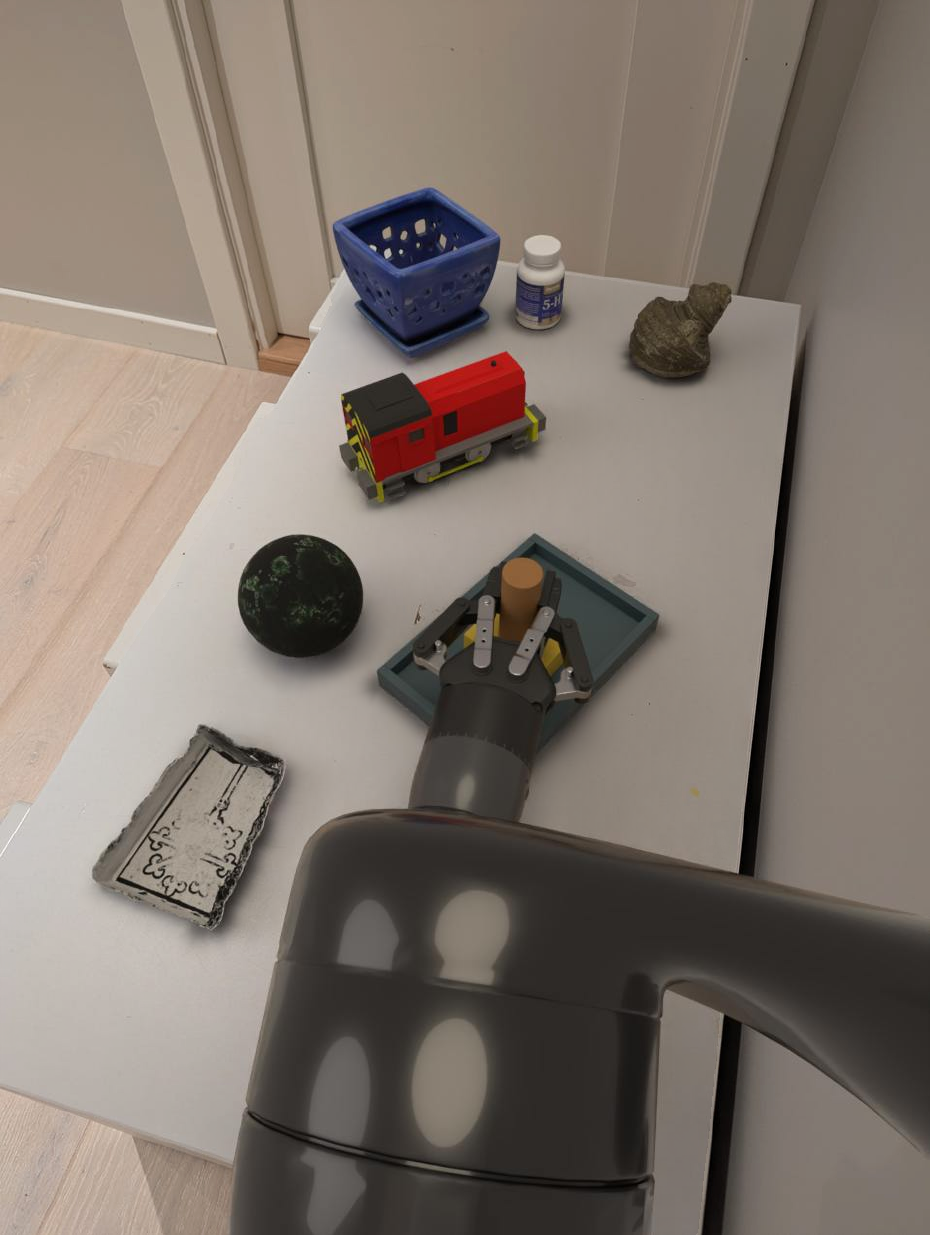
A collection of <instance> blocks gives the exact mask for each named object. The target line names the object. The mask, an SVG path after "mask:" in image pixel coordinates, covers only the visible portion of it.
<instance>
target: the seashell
mask: <svg viewBox="0 0 930 1235" xmlns="http://www.w3.org/2000/svg"><path fill="white" fill-rule="evenodd" d="M732 293H733V292H732V288H731V287H730V286H729V285H728V284H726V283H725V284H724V283H718V282H714V281H713V282H709V283H707V284H705V285H701V284H698V283H692V284H690V285H689V290H688V292H687V296H686V298H685V299H684V300H683V301H682V300H677V301H676V300H669V299H666V298H665V297H663V296H655V297H654V299H652V300H651V301H649V302H648V303H646V305H645V307H643V308H642V310H641V311H640V312H639V313H637V318H636V319H635V321H634V324H633V329H632V331H631V332H630V335H629V343H628V347H629V351H630V358H631V361H632V362H633V363H634V365H635V366H636V367H637V368H642V369H644V370H646V371H647V372H649V373H651V374H653V375H654V376H657V377H659V378H663V379H668V378H677V379H678V378H684V377H689V376H691V375H693V374H694V375H695V374H697V373H700V372H701V373H702V372H704V371H705V370H706V369H708V367H710V363H711V359H710V358H711V350H710V343H709V335H711V333H712V332H713V330H714V329H715V326H716V325H717V324H718V322H719V320H721V318H722V317H723V315H724V313H725V311H726V309H727V308H728V306H729V305H730V304H731V303H732Z"/></svg>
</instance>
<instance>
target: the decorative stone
mask: <svg viewBox="0 0 930 1235" xmlns="http://www.w3.org/2000/svg"><path fill="white" fill-rule="evenodd" d="M363 587H364V586H363V583H362V578H361V576H360V573H359V570H358V569H357V567H356V565H355V564H354V562H353V561H352V559H351V557H349V555H348V554H347V553H346V552H345V551H344V550H343V549H342V548H340V546H338V545H336V544H334V543H332V542H331V541H329V540H327V539H325V538H323V537H320V536H315V535H311V534H304V533H303V534H301V533H299V534H298V533H297V534H288V535H285V536H282V537H279V538H275V539H273V540H272V541H270V542H268V543H266V544H264V545H263V546H262V547H261V548H259V549H258V550H257V551H256V552H255V553H254V554H253V555H252V556H251V557H250V559H249V561H248V562H247V563H246V565H245V566H244V567H243V570H242V573H241V576H240V578H239V582H238V587H237V588H238V589H237V606H238V610H239V615H240V618H241V620H242V622H243V624H244V626H245V629H246V630H247V631H248V632H249V634H250V635H251V636H252V637H253V639H255V640H256V642H258V643H259V644H260V645H261V646H263V647H264V648H266V649H267V650H268V651H270V652H273V653H275V654H277V655H280V656H283V657H287V658H293V659H294V658H295V659H309V658H314V657H318V656H321V655H324V654H327V653H329V652H331V651H333V650H334V649H336V648H337V647H339V646H340V645H341V644H343V643H344V642H345V641H346V640H347V639H348V638H349V637H350V635H351V634H352V633H353V631H354V630H355V628H356V627H357V624H358V623H359V620H360V618H361V615H362V611H363V606H364V588H363Z"/></svg>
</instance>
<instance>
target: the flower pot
mask: <svg viewBox="0 0 930 1235" xmlns="http://www.w3.org/2000/svg"><path fill="white" fill-rule="evenodd" d="M423 220H424V227H425V230H424V231H422V232H419V233H417V230H416V224H417V223H418V222H419V221H423ZM388 228H389V230H390V236H388V237H386V238H384V233H383V232H384V231H385V230H386V229H388ZM332 232H333V233H332V234H333V237H334V242H335V245H336V249H337V252H338V256H339V258H340V261H341V264H342V266H343V269H344V271H345V273H346V276H347V278H348V279H349V282H350V283H351V285H352V287H353V288H354V290H355V292H356V293H357V295H358V297H359V298H360V299H359V300H356V301H355V302H354V307H355V309H356V310H357V311H358V312H359V314H361V316H362V317H364V319H365V320H367V321H368V323H370V324H371V325H372V326H373V327H374V328H375V329H376V330H377V331H378V332H380V333H381V335H383V336H384V337H385V338H386V339H387V340H388V341H389V342H390V343H392V345H394V347H395V348H397V349H398V350H399V351H400V352H401V353H402V354H404V355H405V356H406V357H408V358H410V359H412V358H415V357H418V356H421V355H423V354H424V353H428V352H430V351H432V350H435V349H437V348H439V347H442V346H444V345H446V344H449V343H451V342H453V341H455V340H458V339H460V338H462V337H464V336H466V335H468V334H470V333H472V332H475V331H477V330H479V329H480V328H482V327H483V326H484V325H486V323H487V322H488V321H489V320H490V317H491V315H490V313H489V312H488V311H487V310H486V309H485V308H483V307H482V305H481V304H482V302H483V300H484V299H485V297H486V295H487V293H488V291H489V289H490V286H491V284H492V282H493V278H494V276H495V272H496V270H497V266H498V262H499V257H500V256H499V255H500V249H501V236H500V234H499V233H497V231H495V230H494V229H493V228H492V227H491V226H489V225H487V224H486V223H485V222H484V221H483V220H481V219H480V218H478V217H477V216H476V215H474V214H473V213H471V212H470V211H468V210H467V209H466V208H464V207H463V206H462V205H460V204H459V203H457V202H455V201H454V200H453V199H452V198H451V197H449V196H447V195H445V193H443V192H441V191H439V190H438V189H436V188H434V187H430V186H429V187H424V188H421V189H417V190H415V191H411V192H408V193H404V194H402V195H399V196H396V197H394V198H391V199H388V200H385V201H382V202H380V203H377V204H373V205H372V206H367V207H366V208H364V209H361V210H358V211H355V212H353V213H351V214H348V215H346V216H344V217H341V218H340V219H338V220H335V221H334V222H333V224H332ZM403 232H406V237H405V239H402V235H403ZM442 236H443V237H444V238H445V244H444V246H443V245H442V244H441V237H442ZM418 244H419V245H418ZM417 245H418V246H417ZM371 246H372V247H375V249H373V248H372V247H371ZM387 250H389V251H390V256H388V257H386V255H385V252H386V251H387ZM400 251H402V252H401V253H400Z"/></svg>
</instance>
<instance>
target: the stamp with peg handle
mask: <svg viewBox="0 0 930 1235" xmlns="http://www.w3.org/2000/svg"><path fill="white" fill-rule="evenodd" d="M542 581H543V570H542V568H541V566H540V565H539V564H538V563H537V562H536V561H534V560H532V559H529V558H515V559H512V560H510V561H509V562H507V563H506V564H505V566H504V567H503V570H502V584H501V600H500V614H496V617H495V621H494V636H496V637H499V638H502V639H504V640H506V641H521V642H522V640H523V638H524V636H525V634H526V632H527V630H528V628H529V627H531V625H532V623H533V621H534V619H535V617H536V615H537V609H538V602H539V600H540V597H541V590H542ZM476 625H477V624H474V625H473V626H472V627H471V628H470V629H469V630H468V631H467V632H466V633H465V634H464V648H466V647H467V646H469V645H470V644H471V643H473V642H474V641H475V637H476ZM541 660H542V662H543V664H544V666H545V667H546V669H547V671H548V673H549V675H550V677H551V676H552V674H553V673H554V672H555V671H556V670H557V669H558V668H559V667H560V666H561V665H562V664H563V659H562V655H561V652H560V648H559V645H558V642H556V641H554V640H553V639H551V638H550V639H549V641H548V643H547V646H546V648H545V650H544V653H543V656H542V659H541Z"/></svg>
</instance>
